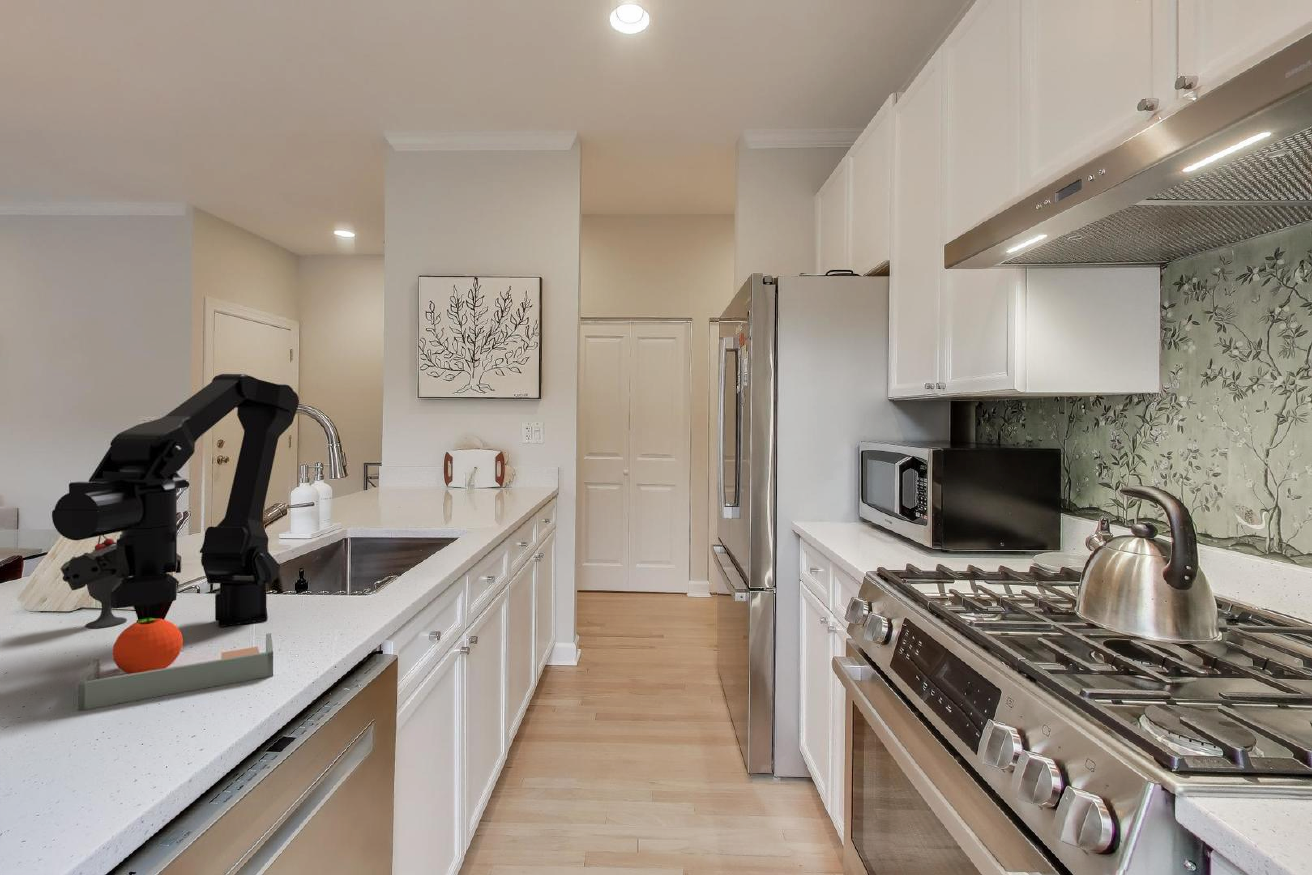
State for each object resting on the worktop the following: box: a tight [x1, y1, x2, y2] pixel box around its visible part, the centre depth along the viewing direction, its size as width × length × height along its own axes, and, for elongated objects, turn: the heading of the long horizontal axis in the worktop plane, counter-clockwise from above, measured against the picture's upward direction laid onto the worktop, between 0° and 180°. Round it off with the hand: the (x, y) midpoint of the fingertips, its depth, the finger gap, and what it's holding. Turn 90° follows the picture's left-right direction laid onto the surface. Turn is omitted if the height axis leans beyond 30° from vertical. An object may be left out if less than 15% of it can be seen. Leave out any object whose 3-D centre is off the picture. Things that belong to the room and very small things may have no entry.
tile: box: [220, 646, 260, 659], centre depth 80 cm, size 4×4×2 cm
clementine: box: [111, 618, 184, 674], centre depth 79 cm, size 8×7×7 cm
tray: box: [77, 632, 274, 712], centre depth 78 cm, size 18×8×3 cm, turn 123°
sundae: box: [84, 535, 128, 629], centre depth 97 cm, size 7×7×15 cm
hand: (150, 640), depth 83 cm, fingers closed
